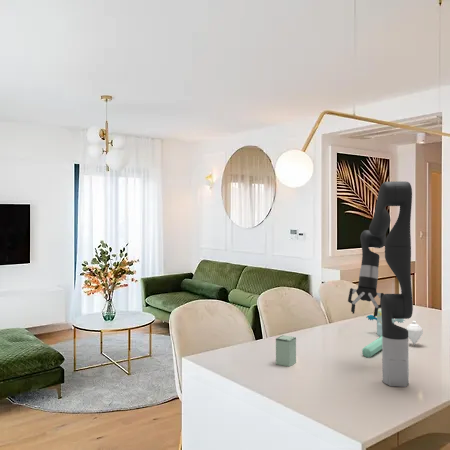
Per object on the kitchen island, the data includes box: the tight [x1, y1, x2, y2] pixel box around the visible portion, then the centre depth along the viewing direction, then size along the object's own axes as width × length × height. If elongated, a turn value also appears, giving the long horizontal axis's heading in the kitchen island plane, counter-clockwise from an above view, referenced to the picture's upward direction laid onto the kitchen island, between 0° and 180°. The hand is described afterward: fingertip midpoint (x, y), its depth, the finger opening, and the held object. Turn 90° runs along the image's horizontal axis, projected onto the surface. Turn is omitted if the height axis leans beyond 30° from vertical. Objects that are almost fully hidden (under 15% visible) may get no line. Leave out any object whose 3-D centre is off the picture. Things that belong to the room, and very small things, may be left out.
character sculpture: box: [366, 308, 406, 337], centre depth 249 cm, size 20×12×13 cm, turn 60°
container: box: [361, 335, 382, 358], centre depth 219 cm, size 6×6×25 cm
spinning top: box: [405, 320, 424, 347], centre depth 228 cm, size 8×8×12 cm
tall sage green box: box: [275, 334, 297, 367], centre depth 201 cm, size 6×6×11 cm
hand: (363, 315), depth 197 cm, fingers open, 8 cm apart
